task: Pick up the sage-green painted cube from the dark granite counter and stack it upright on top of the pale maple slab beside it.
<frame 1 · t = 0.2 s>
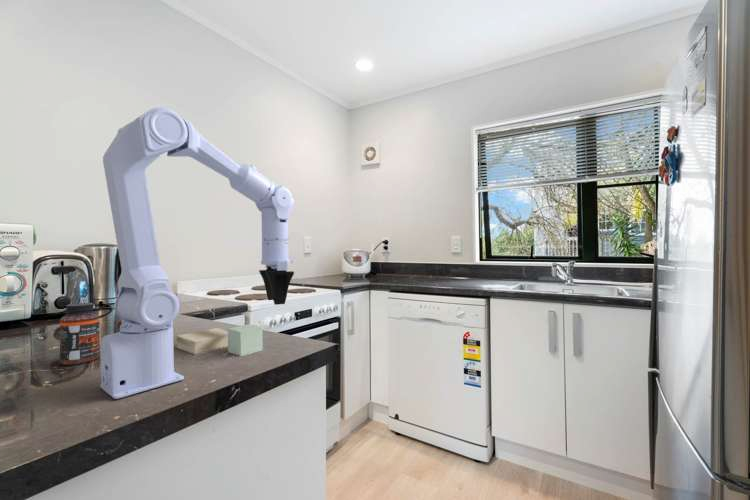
hand: (276, 301, 76), 10 cm above the counter, fingers open, 7 cm apart
sage cube: (245, 351, 72), on the counter
supplement bottle: (80, 362, 68), on the counter
maple slab: (206, 347, 77), on the counter
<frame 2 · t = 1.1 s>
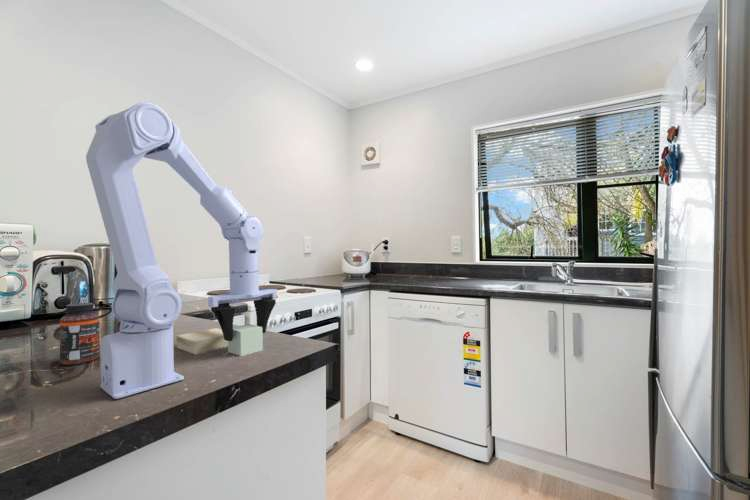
hand: (245, 336, 72), 3 cm above the counter, fingers open, 7 cm apart
nothing on the counter moved.
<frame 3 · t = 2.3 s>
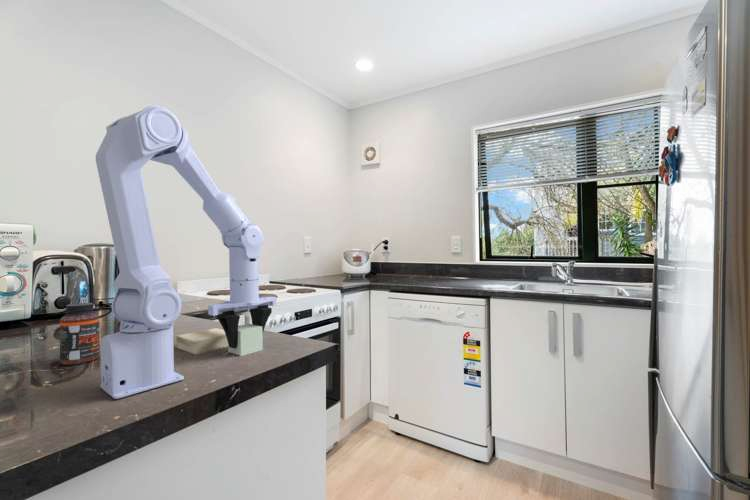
hand: (245, 344, 72), 1 cm above the counter, fingers closed on sage cube, 5 cm apart
sage cube: (245, 350, 72), on the counter, touching gripper
everything else where it was.
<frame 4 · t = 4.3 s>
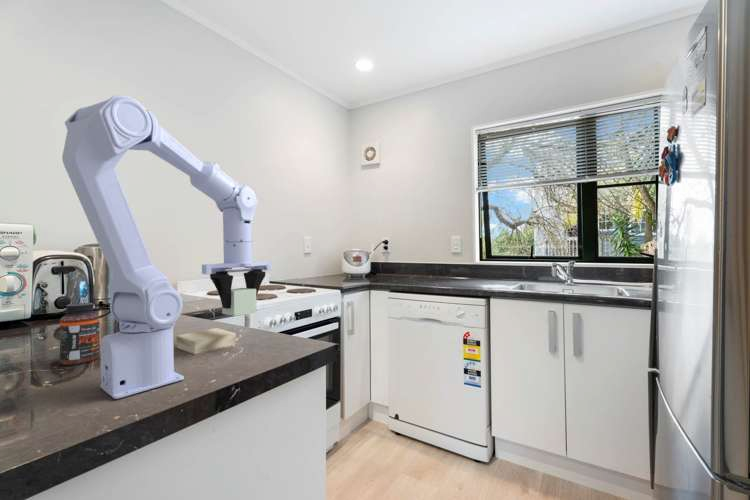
hand: (239, 306, 73), 9 cm above the counter, fingers closed on sage cube, 5 cm apart
sage cube: (239, 312, 73), point 8 cm above the counter, touching gripper
everything else where it was.
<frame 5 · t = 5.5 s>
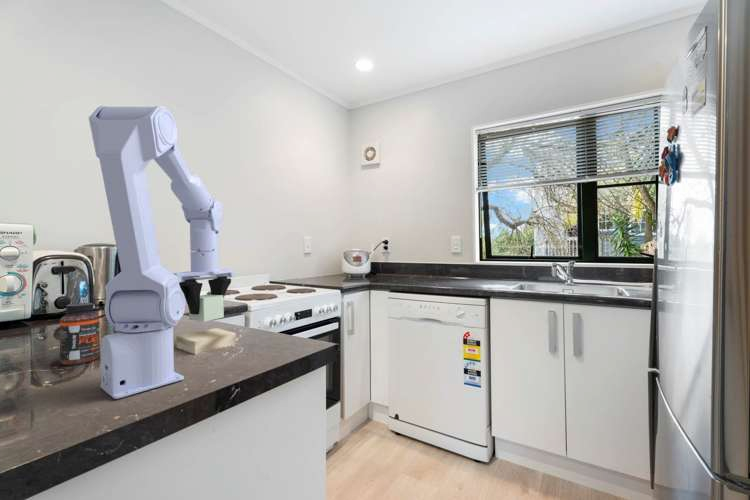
hand: (206, 311, 77), 8 cm above the counter, fingers closed on sage cube, 5 cm apart
sage cube: (206, 318, 77), point 6 cm above the counter, touching gripper
everything else where it was.
when the fingers open (5 cm above the counter, at t = 6.5 s): sage cube drops 1 cm, point 2 cm above the counter.
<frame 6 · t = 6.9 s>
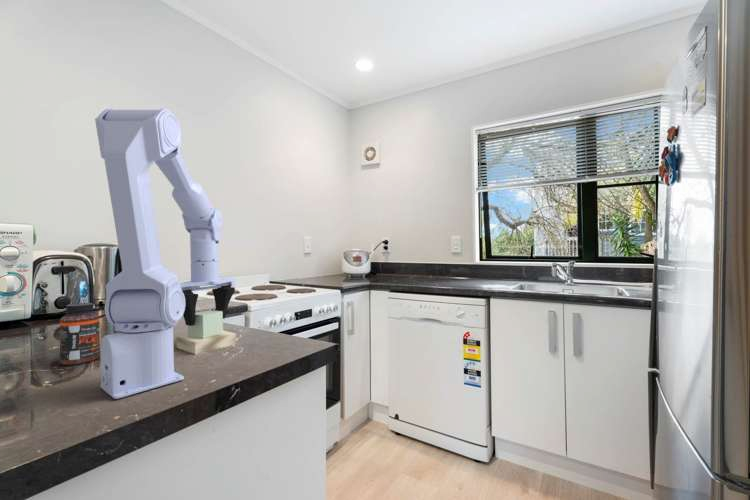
hand: (206, 321, 77), 5 cm above the counter, fingers open, 7 cm apart
sage cube: (205, 334, 77), point 2 cm above the counter
everything else where it was.
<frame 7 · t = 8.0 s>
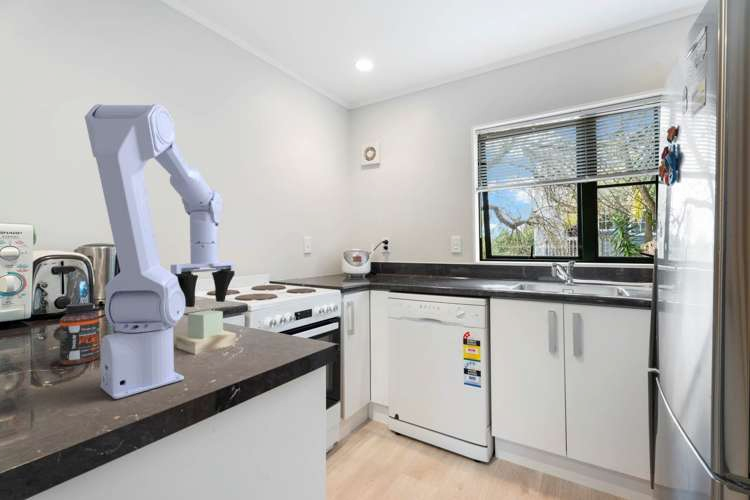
hand: (205, 304, 77), 9 cm above the counter, fingers open, 7 cm apart
sage cube: (205, 334, 77), point 2 cm above the counter, touching maple slab
maple slab: (206, 348, 77), on the counter, touching sage cube
everything else where it was.
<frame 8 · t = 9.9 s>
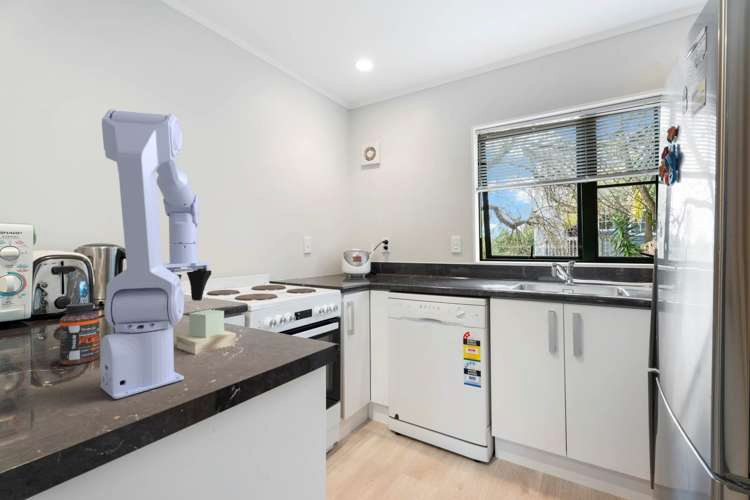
hand: (184, 302, 79), 9 cm above the counter, fingers open, 7 cm apart
sage cube: (207, 334, 77), point 3 cm above the counter
maple slab: (206, 347, 77), on the counter
everything else where it was.
at the end: sage cube 0.2 cm off-centre on the maple slab, point 3.0 cm above the maple slab's base; sage cube tilted 1°; the gripper is holding nothing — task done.
